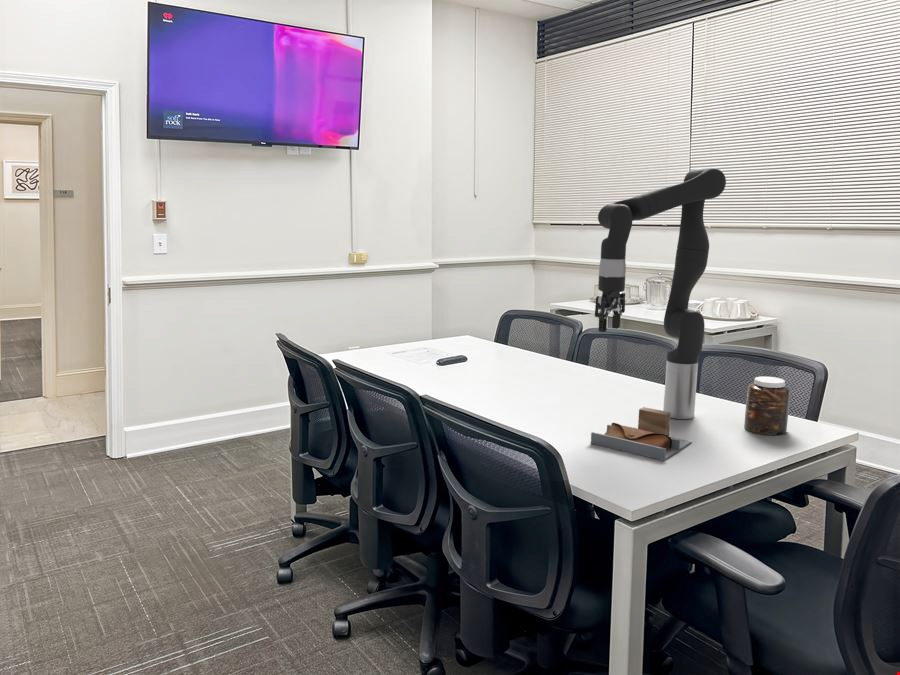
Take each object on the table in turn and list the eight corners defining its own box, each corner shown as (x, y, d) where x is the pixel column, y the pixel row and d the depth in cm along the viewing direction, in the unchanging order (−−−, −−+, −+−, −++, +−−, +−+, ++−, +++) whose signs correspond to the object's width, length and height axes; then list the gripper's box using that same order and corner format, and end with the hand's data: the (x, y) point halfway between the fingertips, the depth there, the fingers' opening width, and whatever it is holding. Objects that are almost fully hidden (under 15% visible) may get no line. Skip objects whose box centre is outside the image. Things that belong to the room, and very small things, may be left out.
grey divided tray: (621, 427, 216) (622, 402, 215) (691, 443, 203) (693, 416, 202) (590, 443, 202) (591, 416, 201) (664, 460, 189) (666, 432, 188)
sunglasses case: (596, 439, 202) (603, 416, 203) (606, 447, 207) (613, 424, 209) (658, 454, 191) (665, 430, 192) (667, 462, 196) (674, 438, 197)
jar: (794, 436, 211) (799, 384, 209) (753, 435, 211) (758, 384, 208) (776, 423, 223) (780, 375, 220) (737, 423, 223) (741, 374, 220)
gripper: (611, 272, 222) (608, 325, 225) (588, 275, 211) (585, 331, 214) (635, 273, 217) (631, 328, 220) (612, 277, 206) (609, 334, 209)
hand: (609, 329), depth 217 cm, fingers open, 8 cm apart
